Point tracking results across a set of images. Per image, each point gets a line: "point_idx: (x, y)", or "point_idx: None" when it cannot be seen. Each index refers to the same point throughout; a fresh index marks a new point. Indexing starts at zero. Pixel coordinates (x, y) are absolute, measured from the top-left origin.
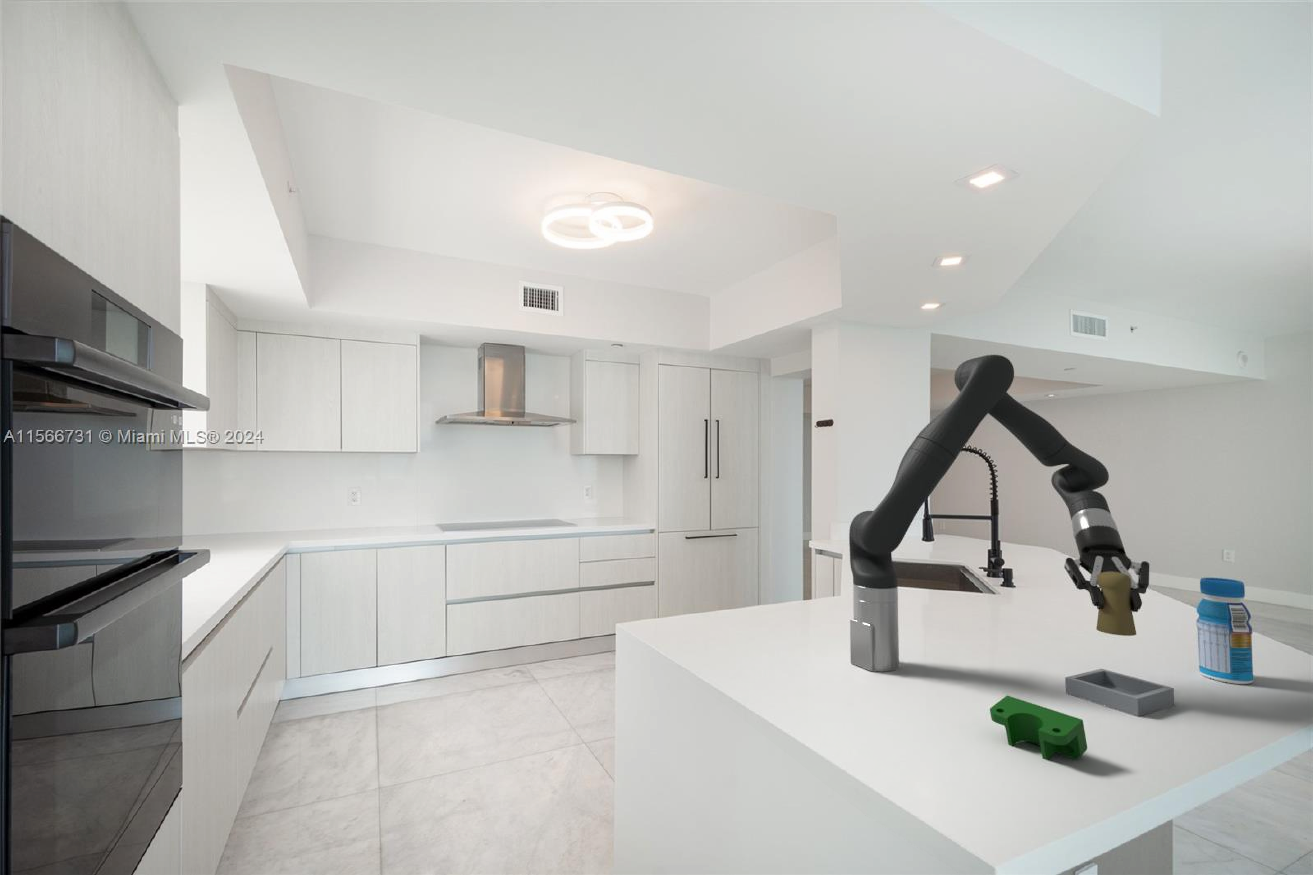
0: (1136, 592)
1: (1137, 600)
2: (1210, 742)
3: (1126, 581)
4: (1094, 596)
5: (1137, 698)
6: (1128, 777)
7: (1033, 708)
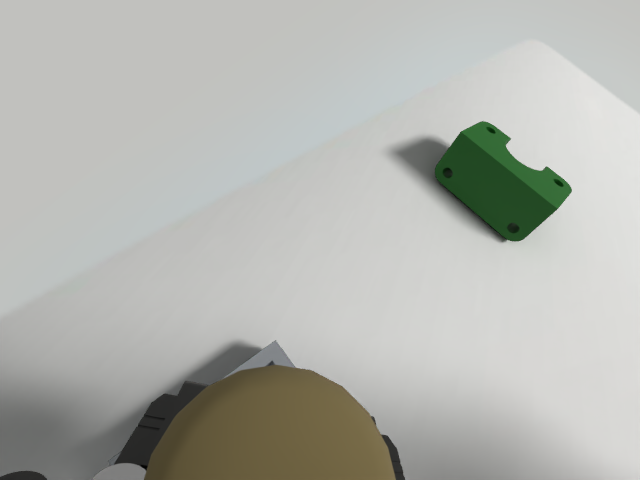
0: (131, 461)
1: (177, 398)
2: (212, 246)
3: (236, 372)
4: (393, 463)
5: (274, 342)
6: (399, 138)
7: (518, 170)
